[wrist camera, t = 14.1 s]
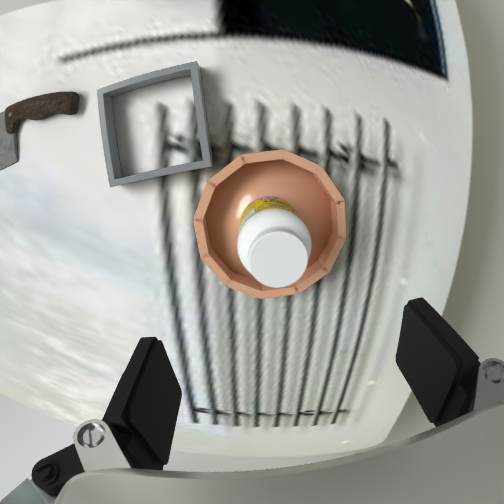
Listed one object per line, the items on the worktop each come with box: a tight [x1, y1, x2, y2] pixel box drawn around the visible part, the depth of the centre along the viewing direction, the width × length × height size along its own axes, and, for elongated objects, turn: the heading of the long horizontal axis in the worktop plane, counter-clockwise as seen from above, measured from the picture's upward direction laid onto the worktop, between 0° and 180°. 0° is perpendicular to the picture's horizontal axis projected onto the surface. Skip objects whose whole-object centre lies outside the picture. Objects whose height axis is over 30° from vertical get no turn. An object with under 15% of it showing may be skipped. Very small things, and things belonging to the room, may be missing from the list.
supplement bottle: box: [237, 196, 311, 288], centre depth 28 cm, size 7×7×13 cm
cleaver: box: [0, 92, 79, 170], centre depth 29 cm, size 29×10×2 cm, turn 93°
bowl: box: [193, 149, 346, 299], centre depth 34 cm, size 17×17×4 cm
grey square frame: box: [97, 61, 214, 187], centre depth 30 cm, size 13×13×2 cm
